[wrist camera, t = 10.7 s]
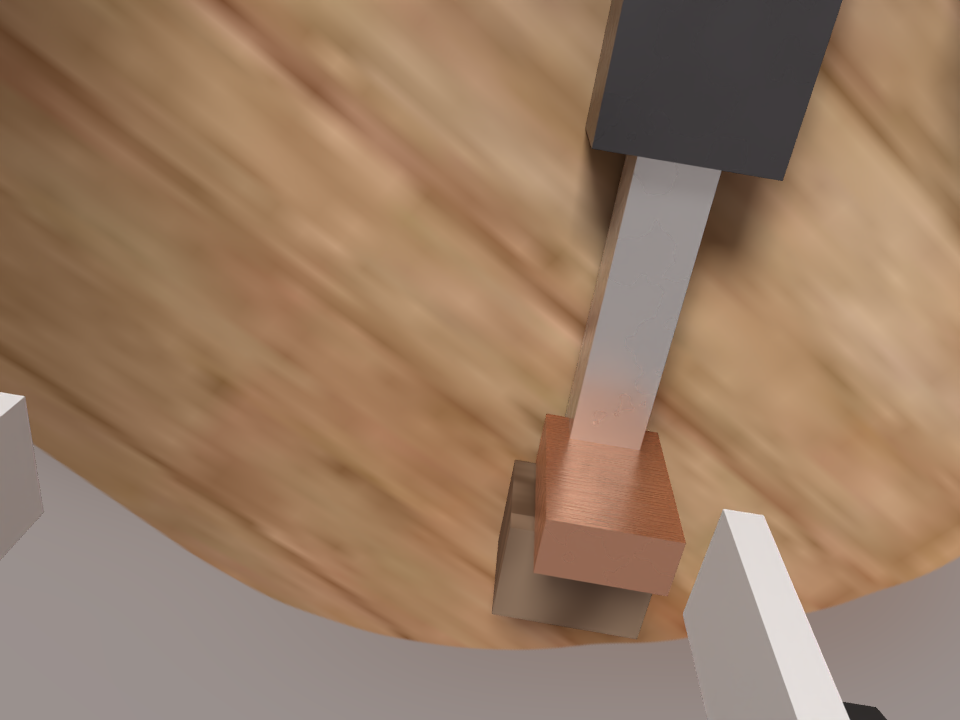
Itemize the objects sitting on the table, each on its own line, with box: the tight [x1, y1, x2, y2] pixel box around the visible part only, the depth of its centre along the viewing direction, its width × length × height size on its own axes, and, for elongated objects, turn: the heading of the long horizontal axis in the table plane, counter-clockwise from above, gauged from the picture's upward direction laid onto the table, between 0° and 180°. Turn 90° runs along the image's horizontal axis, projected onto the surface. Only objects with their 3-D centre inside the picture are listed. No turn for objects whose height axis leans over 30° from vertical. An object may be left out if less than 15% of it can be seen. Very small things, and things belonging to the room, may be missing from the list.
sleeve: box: [585, 0, 842, 181], centre depth 30 cm, size 8×12×6 cm, turn 171°
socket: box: [492, 460, 652, 639], centre depth 42 cm, size 8×6×6 cm
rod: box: [533, 154, 721, 596], centre depth 33 cm, size 6×28×11 cm, turn 171°
